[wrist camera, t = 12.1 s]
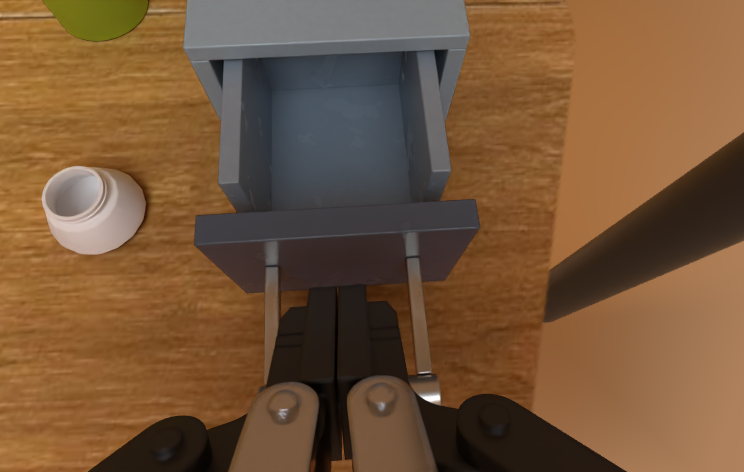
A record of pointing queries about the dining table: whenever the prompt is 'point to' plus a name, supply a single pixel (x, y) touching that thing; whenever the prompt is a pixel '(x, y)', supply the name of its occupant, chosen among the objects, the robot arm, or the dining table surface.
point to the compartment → (336, 183)
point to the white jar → (93, 208)
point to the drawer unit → (323, 34)
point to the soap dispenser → (98, 17)
